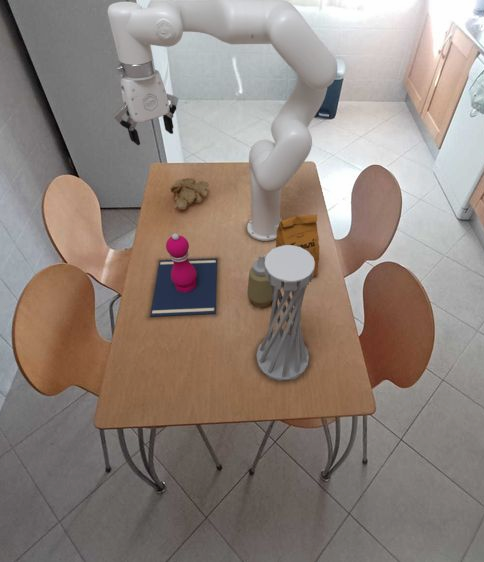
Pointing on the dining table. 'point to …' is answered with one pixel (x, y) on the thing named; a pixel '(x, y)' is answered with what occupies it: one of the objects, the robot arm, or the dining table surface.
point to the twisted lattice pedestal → (286, 313)
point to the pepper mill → (181, 264)
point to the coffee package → (300, 235)
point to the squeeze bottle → (259, 284)
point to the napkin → (192, 302)
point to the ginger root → (188, 192)
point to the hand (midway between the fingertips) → (153, 137)
